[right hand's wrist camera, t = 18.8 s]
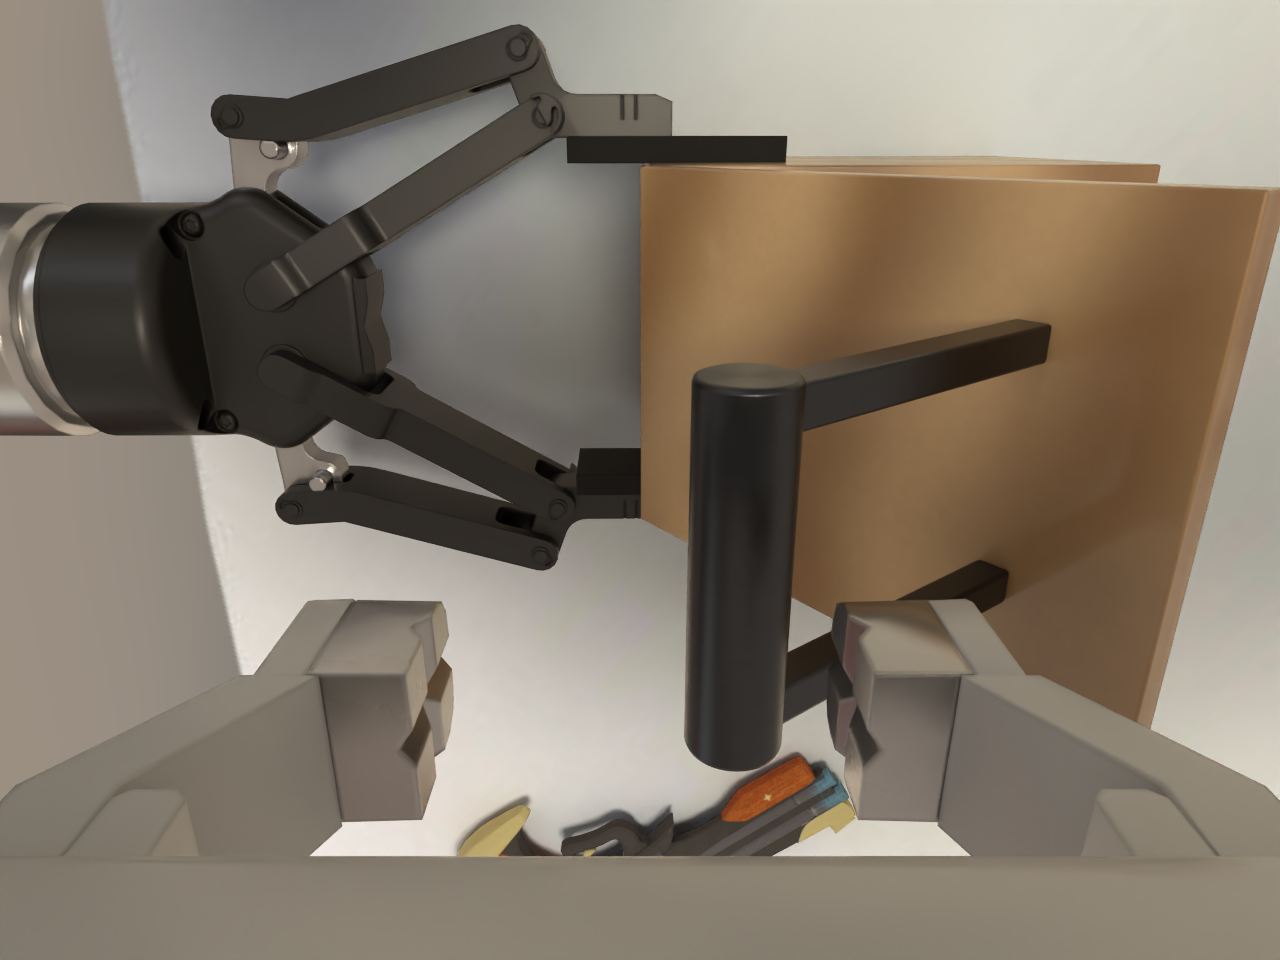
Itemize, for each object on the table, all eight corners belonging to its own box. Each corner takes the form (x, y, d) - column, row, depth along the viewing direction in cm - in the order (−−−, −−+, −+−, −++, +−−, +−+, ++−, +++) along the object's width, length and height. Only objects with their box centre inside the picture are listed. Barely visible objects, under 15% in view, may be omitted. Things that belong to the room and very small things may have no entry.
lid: (1290, 188, 13) (941, 220, 8) (1144, 753, 16) (846, 1016, 11) (664, 166, 23) (349, 173, 18) (661, 512, 27) (398, 595, 22)
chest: (997, 156, 34) (1161, 164, 23) (962, 403, 37) (1091, 506, 27) (644, 157, 34) (651, 165, 23) (644, 405, 37) (650, 509, 27)
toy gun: (435, 874, 43) (552, 1011, 45) (758, 675, 41) (867, 829, 43) (447, 839, 46) (557, 970, 48) (751, 650, 43) (854, 797, 45)
